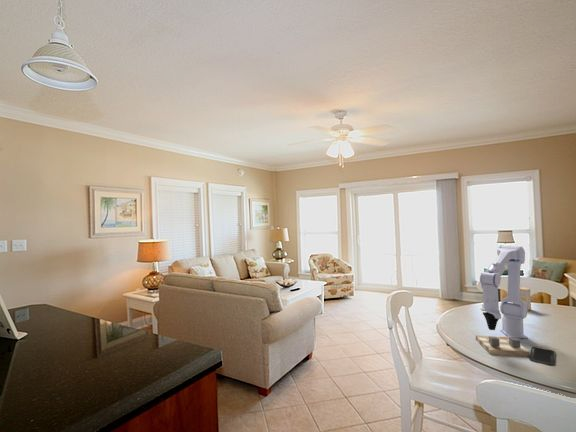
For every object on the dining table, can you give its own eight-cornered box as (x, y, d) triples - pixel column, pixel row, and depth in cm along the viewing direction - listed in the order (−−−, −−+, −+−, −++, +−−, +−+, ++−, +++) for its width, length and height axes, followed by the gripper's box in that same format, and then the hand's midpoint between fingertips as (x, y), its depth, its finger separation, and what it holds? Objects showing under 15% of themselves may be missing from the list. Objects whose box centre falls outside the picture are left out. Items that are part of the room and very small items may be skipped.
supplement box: (531, 309, 188) (530, 288, 188) (527, 310, 186) (527, 289, 186) (516, 306, 195) (515, 285, 195) (512, 307, 193) (511, 287, 193)
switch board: (475, 339, 147) (475, 335, 147) (511, 341, 143) (510, 336, 143) (489, 353, 131) (489, 349, 131) (529, 356, 128) (529, 351, 128)
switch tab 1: (489, 343, 136) (488, 336, 136) (496, 343, 136) (496, 336, 136) (491, 345, 134) (491, 339, 134) (499, 346, 133) (499, 339, 133)
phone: (529, 358, 125) (531, 346, 136) (529, 361, 125) (532, 348, 136) (554, 364, 119) (555, 351, 130) (554, 367, 119) (555, 353, 130)
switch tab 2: (509, 344, 135) (508, 337, 135) (516, 344, 134) (516, 337, 134) (512, 346, 132) (512, 340, 132) (520, 347, 131) (520, 340, 131)
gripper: (474, 294, 145) (475, 323, 145) (487, 303, 131) (488, 335, 131) (491, 295, 143) (492, 324, 143) (506, 304, 129) (507, 336, 129)
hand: (491, 329), depth 137 cm, fingers closed
